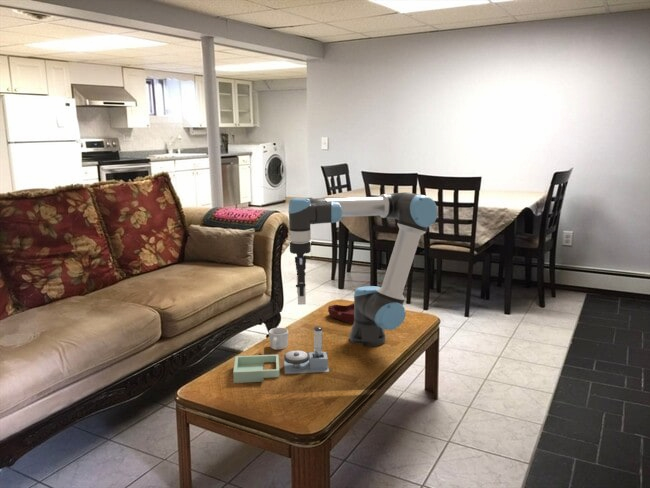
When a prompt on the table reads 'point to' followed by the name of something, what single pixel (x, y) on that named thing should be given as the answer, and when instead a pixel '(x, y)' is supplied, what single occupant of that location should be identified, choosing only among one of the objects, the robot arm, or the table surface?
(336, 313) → the ashtray
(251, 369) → the tray
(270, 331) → the cup
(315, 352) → the dark capped cylinder
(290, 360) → the block
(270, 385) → the table surface
